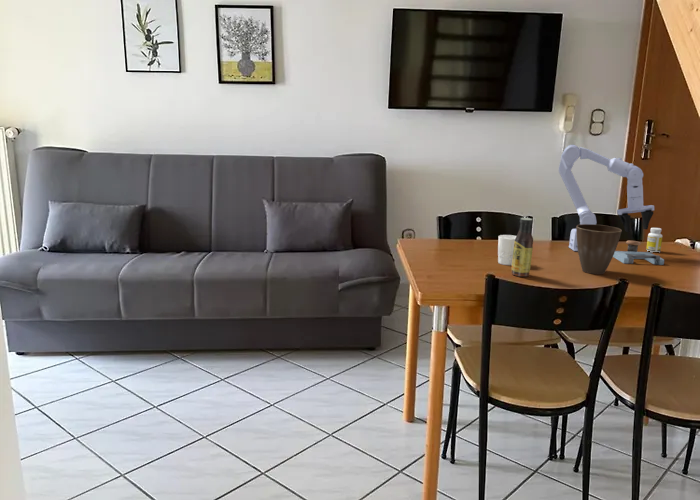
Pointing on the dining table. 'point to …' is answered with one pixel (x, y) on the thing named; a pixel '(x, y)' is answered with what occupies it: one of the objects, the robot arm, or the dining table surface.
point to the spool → (633, 245)
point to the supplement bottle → (654, 240)
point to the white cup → (505, 249)
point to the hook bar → (643, 257)
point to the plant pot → (596, 246)
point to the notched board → (623, 258)
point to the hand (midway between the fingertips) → (636, 230)
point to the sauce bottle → (523, 249)
